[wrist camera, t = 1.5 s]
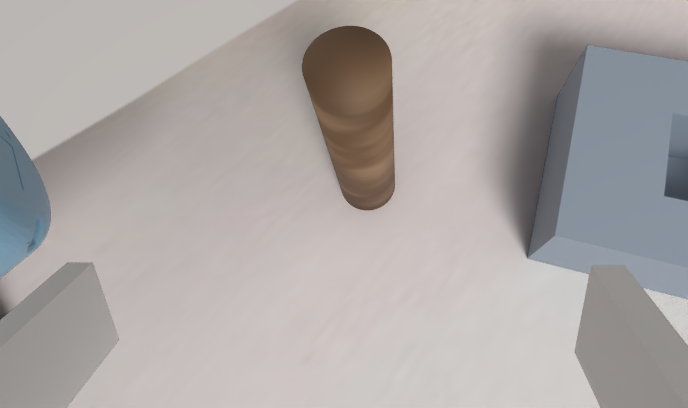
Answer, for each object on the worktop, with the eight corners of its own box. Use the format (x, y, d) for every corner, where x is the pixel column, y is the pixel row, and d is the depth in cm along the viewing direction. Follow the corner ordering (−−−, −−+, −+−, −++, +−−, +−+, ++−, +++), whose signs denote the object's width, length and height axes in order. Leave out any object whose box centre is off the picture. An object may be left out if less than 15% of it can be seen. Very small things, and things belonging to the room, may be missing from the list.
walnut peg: (334, 202, 35) (290, 92, 21) (349, 155, 36) (317, 19, 22) (386, 215, 34) (377, 110, 20) (400, 166, 35) (401, 33, 21)
